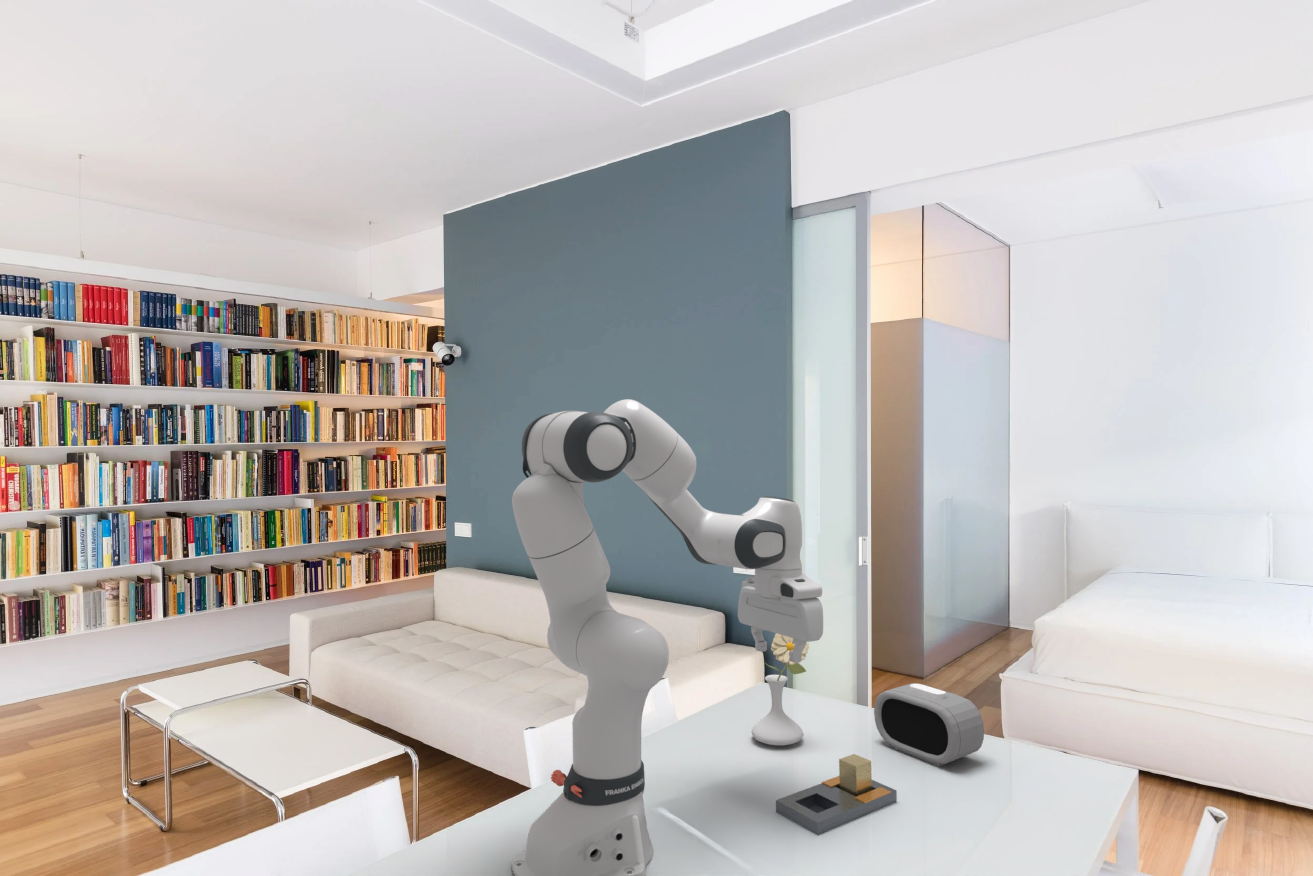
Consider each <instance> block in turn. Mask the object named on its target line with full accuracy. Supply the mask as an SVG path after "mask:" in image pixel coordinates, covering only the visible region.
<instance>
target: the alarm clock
mask: <svg viewBox="0 0 1313 876" xmlns="http://www.w3.org/2000/svg"><path fill="white" fill-rule="evenodd" d="M873 709H874V711H873V716H874V722H875V727H876V729H877V732H878V733H879V735H880V736H881V738H882V739H883V740H884V741H885V742H886V743H888V744H890V745H891V746H893V747H892V748H893V749H895V750H896V749H897V750H896V751H899V750H900V751H899V752H902V753H905V754H907V755H910V756H912V757H914V758H917V759H919V760H921V761H925V762H927V763H930V764H932V765H935V766H938V767H941V766H944V765H946V764H949V763H952V762H954V761H956V759H957V760H959V758H960V759H962V758H963V757H965V756H968V755H971V754H973V753H976V752H978V751H979V750H980V749H981V748H982V745H983V742H984V737H985V728H984V727H985V726H984V721H983V717H982V714H981V712H980V711H979V709H978V708H977V706H976V705H975V704H974V703H973V702H972V700H970V699H967V698H965V697H963V696H961V695H958V694H956V693H952V692H949V691H945V690H942V689H940V688H935V687H932V686H928V685H925V684H923V683H922V684H921V683H915V682H912V683H908V684H905V685H901V686H898V687H895V688H890V689H888V690H885V691H883V692H881V693H879V694H878V695H877V697H876V699H875V702H874V707H873ZM961 757H962V758H961Z"/></svg>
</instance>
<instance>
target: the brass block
mask: <svg viewBox="0 0 1313 876" xmlns="http://www.w3.org/2000/svg"><path fill="white" fill-rule="evenodd" d="M838 764H839V766H838V767H839V768H838V770H839V771H838V774H839V775H838V776H839V778H840V789H841V790H843V791H845V792H847V793H849V794H852V795H854V796H856V797H857V796H859V795H862V794H864V793H867V792H869V791H872V780H873V779H872V774H873V773H872V760H869V759H867V758H865V757H863V756H860V755H859V754H855V753H853V754H850V755H847V756H844V757H842V758H839V759H838Z"/></svg>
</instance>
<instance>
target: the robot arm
mask: <svg viewBox="0 0 1313 876" xmlns="http://www.w3.org/2000/svg"><path fill="white" fill-rule="evenodd" d="M521 439H522V440H521V454H522V474H524V476H525V477H526V478H525V479H523V481H521V482H520V483H519V484H518V485H517V487H516V488H515V490H514V491H513V492H512V493H513V494H512V498H511V505H512V511H513V516H514V520H515V523H516V527H517V530H518V533H519V536H520V539H521V542H522V545H523V547H524V550H525V553H526V554H527V556H528V559H529V561H530V565H531V566H532V568H533V571H534V573H535V575H536V578H537V580H538V582H539V585H540V587H541V589H542V592H543V594H544V598H545V600H546V603H547V604H546V605H547V608H548V614H549V621H550V623H549V625H548V628H547V635H546V636H547V637H546V638H547V645H548V647H549V649H550V650H549V651H550V652H551V653H552V654H553V655H554V657H556V658H557V659H558V660H559V661H560V662H561V663H562V664H563V665H565V667H566V668H568V669H570V670H572V671H575V672H577V673H579V674H582V675H584V676H586V678H587V682H588V688H587V694H586V699H585V702H584V704H583V706H582V707H580V708H579V709H578V710H577V711H576V712H575V714H574V716H573V718H572V726H571V727H572V764H571V765H570V768H569V771H568V773H567V775H566V774H565V773H564V772H562V771H561V770H560V769H555V770H553V772H552V774H551V775H550V779H551V782H552V783H553V784H555V785H556V786H558V787H562V786H563V789H562V792H561V794H559V796H558V797H557V798H556V799H555V800H554V801H553V802H552V803H551V804H550V805H549V806H548V808H546V809H545V810H544V811H543V812H542V813H541V815H540V816H538V817H537V818H536V819H535V820H534V821H533V822H532V823H531V824H530V825H531V826H530V827H529V831H528V834H527V840H526V849H525V850H522V851H521V852H519V853H516V854H515V855H514V856H513V858H512V862H511V871H513V872H512V874H513V873H514V875H515V876H646V867H647V865H648V864H649V862H650V861H651V860H652V858H653V854H654V847H653V844H652V842H651V838H650V834H649V830H648V825H647V821H646V812H645V804H644V803H645V802H644V792H645V784H646V783H645V779H646V778H645V763H644V762H643V760H642V723H643V721H642V720H643V714H644V713H643V712H644V708H645V704H646V701H647V698H648V696H649V695H648V694H649V693H650V690H651V689H653V687H655V686H656V685H657V684H658V683H659V682H660V681H661V680H662V678H663V677H664V675H665V673H666V672H667V668H668V665H669V660H670V659H669V658H670V649H669V645H668V642H667V639H666V638H665V636H664V634H662V632H660V631H659V630H657V629H656V628H655V627H653V626H652V625H650V624H649V623H648V622H646V621H644V620H643V619H641V618H637V617H634V616H630V615H628V614H624V613H620V612H617V611H616V609H614V607H613V606H612V604H611V603H610V601H609V598H608V593H607V583H608V582H609V579H610V577H611V566H610V564H609V561H608V559H607V557H606V556H607V555H606V554H605V552H604V549H603V546H602V544H601V541H600V540H599V539H600V538H599V537H598V535H597V532H596V529H595V527H594V524H593V522H592V521H591V518H590V515H589V513H588V511H587V509H586V505H585V501H584V486H585V485H584V484H585V483H584V482H586V483H600V482H605V481H608V480H610V479H612V478H614V477H616V476H617V475H618V474H620V473H621V472H623V473H624V474H625V475H626V476H627V478H628V479H630V480H631V481H632V482H634V484H636V485H637V487H638V488H640V489H641V490H642V491H643V492H644V493H645V495H647V497H648V498H649V500H650V501H651V502H652V503H653V504H654V506H655V507H656V508H658V510H659V511H660V513H662V514H663V516H665V517H666V518H667V520H668V521H669V522H670V523H671V525H673V526H674V527H675V528H676V529H677V531H678V532H679V533H680V534H681V536H682V538H683V540H684V542H685V545H686V547H687V549H688V551H689V553H690V554H691V556H692V557H693V558H694V559H695V560H696V561H697V562H699V563H701V564H704V565H715V566H718V565H719V566H724V567H730V568H737V569H743V570H754V577H752V576H747V577H746V578H745V579H744V580H742V582H741V590H740V593H739V597H738V606H737V618H738V621H739V623H740V624H743V625H746V626H748V627H749V626H750V632H751V635H752V637H753V641H755V642H754V643H755V644H754V645H755V646H754V647H755V648H754V649H755V651H758V652H761V653H763V652H766V651H767V650H768V641H766V640H765V639H764V635H763V632H764V631H767V632H770V633H774V634H776V633H777V634H781V635H784V636H788V637H791V638H793V644H795V646H794V649H793V651H791V652H789V656H790V657H789V660H790V661H792V662H795V663H801V662H802V661H803V660H802V651H803V650H804V648H805V646H806V642H807V643H811V642H816V641H819V640H820V639H821V638H822V637H823V634H824V608H823V604H822V601H821V600H820V599H819V598H821V597H822V595H823V587H822V586H821V584H819V583H818V582H816V581H814V579H812V578H810V577H808V576H807V575H806V574H805V573H803V565H802V562H801V561H802V560H801V549H802V548H803V547H802V546H803V524H802V523H803V522H802V515H801V511H800V507H799V504H798V503H797V502H796V501H794V500H792V499H789V498H786V497H778V496H768V495H766V496H762V497H759V499H758V501H757V503H756V504H755V505H754V506H753V507H751V508H750V509H749V510H747V511H746V512H743V513H741V515H740V514H739V515H737V514H729V513H720V512H715V511H711V510H709V509H706V508H704V507H703V506H702V505H701V504H700V502H698V500H697V499H696V498H695V497H694V496H693V494H692V493H691V492H690V491H689V490H688V488H689V486H690V485H691V483H692V482H693V480H694V478H695V475H696V470H697V456H696V454H695V452H694V451H693V449H692V447H691V446H690V445H689V443H687V441H686V440H685V439H684V438H683V437H682V436H681V435H680V434H679V433H678V432H677V431H676V430H675V429H674V427H672V426H671V425H670V424H669V423H668V422H667V421H665V419H663V418H662V417H661V416H659V415H658V414H657V413H655V412H654V411H653V410H651V409H650V408H648V406H646V405H644V404H642V403H641V402H639V401H637V400H634V399H630V398H629V399H627V398H625V399H621V400H618V401H615V402H614V403H612V404H611V405H609V406H608V407H607V408H606V409H605V410H604V411H603V412H601V411H589V412H587V411H580V410H563V411H559V412H549V413H545V414H542V415H540V416H539V417H537V418H535V419H534V420H532V421H531V422H530V423H529V425H527V427H526V428H525V430H524V433H523V436H522V438H521ZM527 472H528V473H527ZM801 660H802V661H801ZM514 875H513V876H514Z"/></svg>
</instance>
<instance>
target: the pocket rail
mask: <svg viewBox="0 0 1313 876" xmlns="http://www.w3.org/2000/svg"><path fill="white" fill-rule="evenodd" d="M897 791H898V790H896V789H894V788H892V787H890V786H887V785H885V784H883V783H881V782H878V781H876V780H874V779H872V791H869V792H867V793H864V794H862V795H859V796H857V797H856V796H854V795H852V794H849V793H847V792H845V791H843V790H841V789H840V778H839V775H837V776H835V777H831V778H829V779H826V780H824V781H821V783H819V784H816V785H814V786H811V787H807V788H805V789H803V790H800V791H798V792H794V793H791V794H789V795H786V796H783V797H780V798H779V799H775V812H776V813H777V814H778V815H781V816H782V817H784V818H786V819H788V820H790V821H792V822H793V823H795V824H796V825H799V826H800V827H802V828H804V829H806V830H808V831H809V832H812V833H814V835H816V836H820V835H822V834H824V833H826V832H829V831H831V830H833V829H836V828H838V827H840V826H843V825H846V824H848V823H850V822H853V821H855V820H856V819H859V818H862V817H864V816H866V815H868V814H871V813H873V812H876V811H878V810H881V809H883V808H886V807H888V806H890V805H893V804H895V803H897V802H898V801H897V799H898V797H897V793H898V792H897Z"/></svg>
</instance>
